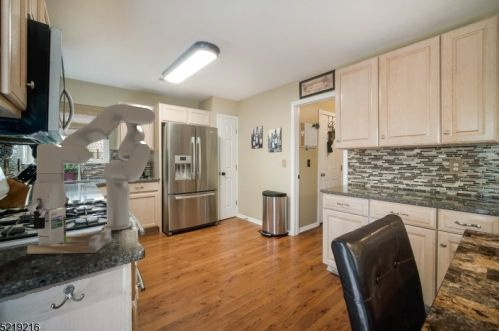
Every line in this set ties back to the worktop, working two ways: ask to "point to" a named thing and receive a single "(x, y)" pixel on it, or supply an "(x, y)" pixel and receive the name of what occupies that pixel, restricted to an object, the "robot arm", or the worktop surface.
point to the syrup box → (53, 228)
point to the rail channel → (75, 244)
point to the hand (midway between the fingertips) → (50, 224)
